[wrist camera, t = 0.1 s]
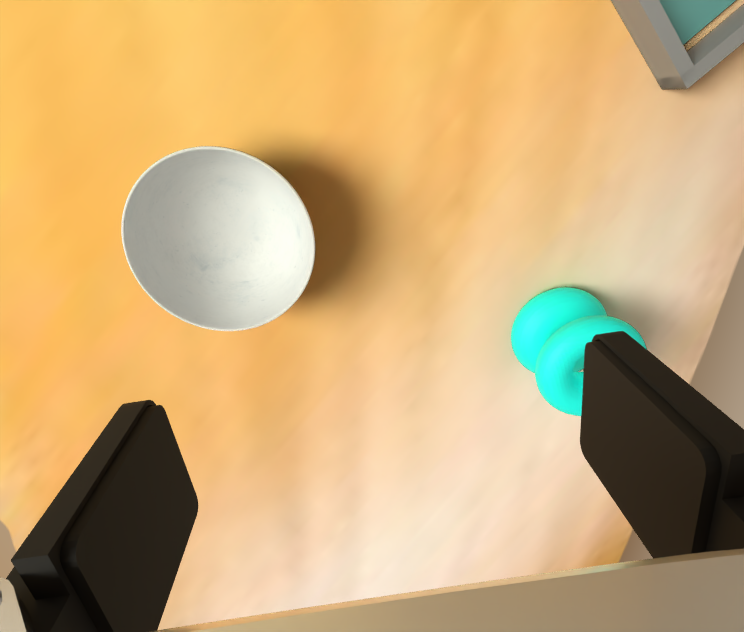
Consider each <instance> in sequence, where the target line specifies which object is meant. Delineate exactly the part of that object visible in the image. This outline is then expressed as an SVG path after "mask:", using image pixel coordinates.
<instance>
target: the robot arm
mask: <svg viewBox="0 0 744 632" xmlns="http://www.w3.org/2000/svg"><path fill="white" fill-rule="evenodd" d="M580 445H581V449H582V452H583V455H584V457H585V459H586V460H587V461H588V463H589V464H590V466H591V467H592V469H593V470H594V472H595V473H596V475H597V476H598V478H599V479H600V481H601V482H602V484H603V485H604V487H605V488H606V489H607V491H608V492H609V494H610V495H611V497H612V498H613V500H614V501H615V503H616V504H617V506H618V507H619V509H620V510H621V512H622V513H623V515H624V516H625V517H626V519H627V520H628V522H629V523H630V525H631V526H632V528H633V529H634V531H635V532H636V533H637V535H638V537H639V538H640V539H641V541H642V542H643V544H644V545H645V547H646V548H647V550H648V551H649V553H650V554H651V556H652V557H653V559H647V560H638V561H630V562H622V563H615V564H607V565H600V566H593V567H586V568H579V569H572V570H565V571H557V572H550V573H543V574H536V575H529V576H522V577H515V578H507V579H500V580H493V581H486V582H479V583H472V584H465V585H458V586H451V587H444V588H438V589H431V590H424V591H417V592H410V593H403V594H396V595H389V596H383V597H376V598H369V599H362V600H355V601H349V602H342V603H335V604H328V605H321V606H315V607H308V608H301V609H295V610H288V611H282V612H275V613H268V614H262V615H255V616H249V617H242V618H236V619H229V620H222V621H216V622H209V623H203V624H196V625H190V626H183V627H176V628H170V629H164V630H158V631H157V629H158V626H159V623H160V621H161V618H162V615H163V612H164V609H165V606H166V603H167V600H168V597H169V594H170V591H171V589H172V586H173V583H174V580H175V577H176V574H177V571H178V568H179V565H180V562H181V560H182V557H183V554H184V551H185V548H186V545H187V542H188V539H189V536H190V533H191V530H192V528H193V525H194V522H195V519H196V516H197V512H198V499H197V496H196V493H195V490H194V487H193V485H192V482H191V479H190V477H189V474H188V471H187V469H186V466H185V463H184V460H183V458H182V455H181V452H180V450H179V447H178V444H177V442H176V439H175V436H174V433H173V431H172V428H171V425H170V423H169V420H168V417H167V414H166V412H165V410H164V408H163V407H162V406H161V405H157V406H156V404H155V403H154V402H153V401H151V400H146V401H139V402H132V403H126V404H123V405H122V406H121V407H120V408H119V409H118V411H117V412H116V413H115V415H114V416H113V418H112V419H111V420H110V422H109V423H108V425H107V426H106V427H105V429H104V430H103V432H102V433H101V434H100V436H99V437H98V439H97V440H96V441H95V443H94V444H93V446H92V447H91V448H90V450H89V451H88V453H87V454H86V455H85V457H84V458H83V460H82V461H81V462H80V464H79V465H78V467H77V468H76V469H75V471H74V472H73V474H72V475H71V476H70V478H69V479H68V481H67V482H66V483H65V485H64V486H63V488H62V489H61V490H60V492H59V493H58V495H57V496H56V497H55V499H54V500H53V502H52V503H51V504H50V506H49V507H48V509H47V510H46V511H45V513H44V514H43V516H42V517H41V519H40V520H39V521H38V523H37V524H36V526H35V527H34V528H33V530H32V531H31V533H30V534H29V535H28V537H27V538H26V540H25V541H24V542H23V544H22V545H21V547H20V548H19V549H18V551H17V552H16V554H15V555H14V556H13V558H12V559H11V562H12V563H13V565H14V568H13V569H12V571H11V572H10V574H9V575H8V577H7V578H6V579H4V578H1V577H0V632H744V429H742V428H741V427H740V426H739V425H738V424H737V423H735V422H734V421H733V420H731V419H730V418H729V417H728V416H727V415H726V414H724V413H723V412H722V411H721V410H720V409H718V408H717V407H716V406H715V405H713V404H712V403H711V402H710V401H709V400H707V399H706V398H705V397H704V396H703V395H701V394H700V393H699V392H698V391H696V390H695V389H694V388H693V387H691V386H690V385H689V384H688V383H687V382H686V381H684V380H683V379H682V378H681V377H679V376H678V375H677V374H676V373H675V372H673V371H672V370H671V369H670V368H668V367H667V366H666V365H665V364H664V363H662V362H661V361H660V360H659V359H658V358H656V357H655V356H654V355H653V354H651V353H650V352H649V351H648V350H647V349H645V348H644V347H643V346H642V345H641V344H639V343H638V342H637V341H636V340H634V339H633V338H632V337H631V336H630V335H628V334H627V333H626V332H624V331H617V332H610V333H603V334H596V335H595V336H594V337H593V339H592V342H588V343H586V345H585V352H584V372H583V392H582V412H581V432H580Z"/></svg>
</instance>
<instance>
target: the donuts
mask: <svg viewBox="0 0 744 632" xmlns="http://www.w3.org/2000/svg"><path fill="white" fill-rule="evenodd" d="M617 331H624V332H626V333H627V334H628V335H630V336H631V337H632V338H633V339H634V340H636V341H637V342H638V343H639V344H641V345H642V346H643V347H644V348H645V349H647V348H646V345H645V342H644V340H643V339H642V337H641V335H640V334H639V333H638V332H637V330H636V329H634V328H633V327H632V326H631V325H629V324H628V323H626V322H625V321H622V320H620V319H617V318H614V317H610V316H607V313H606V311H605V309H604V307H603V306H602V304H601V303H600V302H599V300H598V299H596V298H595V297H594V296H593V295H591V294H590V293H588V292H586V291H583V290H580V289H576V288H570V287H561V288H555V289H551V290H548V291H545V292H543V293H541V294H539V295H537V296H536V297H534V298H533V299H531V300H530V301H529V302H528V303H527V304H526V305H525V306H524V307H523V308H522V309H521V311H520V312H519V313H518V315H517V317H516V319H515V321H514V324H513V327H512V332H511V342H512V348H513V351H514V353H515V355H516V357H517V359H518V360H519V361H520V363H521V364H522V365H523V366H524V367H526V368H527V369H528V370H530V371H532V372H533V373H535V377H536V382H537V386H538V388H539V391H540V393H541V394H542V396H543V397H544V398H545V400H546V401H547V402H548V403H549V404H550V405H552V406H553V407H555V408H556V409H558V410H560V411H562V412H564V413H567V414H571V415H576V416H581V412H582V392H583V372H578V371H580V370H582V369H584V352H585V345H586V343H588V342H592V339H593V337H594V336H595V335H596V334H603V333H610V332H617Z"/></svg>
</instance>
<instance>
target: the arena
mask: <svg viewBox="0 0 744 632" xmlns="http://www.w3.org/2000/svg"><path fill="white" fill-rule="evenodd" d="M611 1H612V3H613V5H614V7H615V8H616V10H617V12H618V14H619V15H620V17H621V19H622V21H623V22H624V24H625V26H626V28H627V29H628V31H629V33H630V35H631V36H632V38H633V40H634V42H635V43H636V45H637V47H638V49H639V50H640V52H641V54H642V56H643V57H644V59H645V61H646V63H647V64H648V66H649V68H650V70H651V71H652V73H653V75H654V77H655V78H656V80H657V82H658V84H659V85H660V87H661V89H662V90H665V89H688V88H689V87H690V86H692V85H693V84H694V83H695V82H696V81H698V80H699V79H700V78H701V77H702V76H704V75H705V74H706V73H707V72H709V71H710V70H711V69H712V68H713V67H715V66H716V65H717V64H718V63H719V62H721V61H722V60H723V59H724V58H726V57H727V56H728V55H729V54H730V53H732V52H733V51H734V50H735V49H736V48H738V47H739V46H740V45H741V44H742V43H744V4H743V5H742V6H740V7H739V8H738V9H737V10H736V11H735V12H733V13H732V14H731V15H730V16H729V17H727V18H726V19H725V20H724V21H723V22H722V23H720V24H719V25H718V26H717V27H716V28H714V29H713V30H712V31H711V32H710V33H709V34H707V35H706V36H705V37H704V38H703V39H701V40H700V41H699V42H698V43H697V44H696V45H694V46H693V47H692V48H691V49H690V50H688V51H687V52H686V50H685V48H684V46H683V45H684V44H685V43H686V42H687V41H688V40H690V39H691V38H692V37H693V36H694V35H695V34H697V33H698V32H699V31H700V30H701V29H703V28H704V27H705V26H706V25H707V24H708V23H710V22H711V21H712V20H713V19H714V18H715V17H717V16H718V15H719V14H720V13H721V12H723V11H724V10H725V9H726V8H727V7H728V6H730V5H731V4H732V3H733V2H734V1H735V0H611Z"/></svg>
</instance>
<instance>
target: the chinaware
mask: <svg viewBox="0 0 744 632" xmlns="http://www.w3.org/2000/svg"><path fill="white" fill-rule="evenodd" d="M122 242H123V247H124V252H125V255H126V258H127V261H128V264H129V266H130V268H131V270H132V272H133V274H134V276H135V278H136V279H137V281H138V283H139V284H140V285H141V287H142V288H143V289H144V291H145V292H146V293H147V294H148V295H149V296H150V297H151V298H152V299H153V300H154V301H155V302H156V303H157V304H158V305H159V306H161V307H162V308H163V309H164V310H166V311H167V312H169V313H170V314H172V315H173V316H175V317H177V318H179V319H181V320H183V321H185V322H187V323H190V324H192V325H195V326H198V327H202V328H206V329H211V330H218V331H239V330H246V329H251V328H255V327H258V326H261V325H263V324H266V323H268V322H270V321H272V320H274V319H276V318H277V317H279V316H280V315H282V314H283V313H284V312H286V311H287V310H288V309H289V308H290V307H291V306H292V305H293V304H294V303H295V302H296V301H297V300H298V298H299V297H300V296H301V294H302V293H303V291H304V289H305V288H306V286H307V284H308V281H309V279H310V276H311V273H312V270H313V265H314V260H315V237H314V231H313V226H312V222H311V219H310V216H309V214H308V211H307V209H306V207H305V205H304V203H303V201H302V199H301V198H300V196H299V195H298V193H297V192H296V190H295V189H294V188H293V186H292V185H291V184H290V183H289V182H288V181H287V180H286V179H285V178H284V177H283V176H282V175H281V174H280V173H279V172H278V171H276V170H275V169H274V168H273V167H271V166H270V165H268V164H267V163H265V162H263V161H262V160H260V159H258V158H256V157H254V156H252V155H249V154H247V153H244V152H241V151H238V150H234V149H230V148H225V147H216V146H202V147H193V148H188V149H183V150H180V151H177V152H174V153H172V154H170V155H167V156H165V157H164V158H162V159H160V160H159V161H157V162H156V163H154V164H153V165H152V166H150V167H149V168H148V169H147V170H146V171H145V172H144V173H143V174H142V175H141V176H140V178H139V179H138V180H137V181H136V183H135V184H134V186H133V188H132V189H131V191H130V193H129V195H128V198H127V200H126V203H125V207H124V211H123V216H122Z"/></svg>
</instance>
